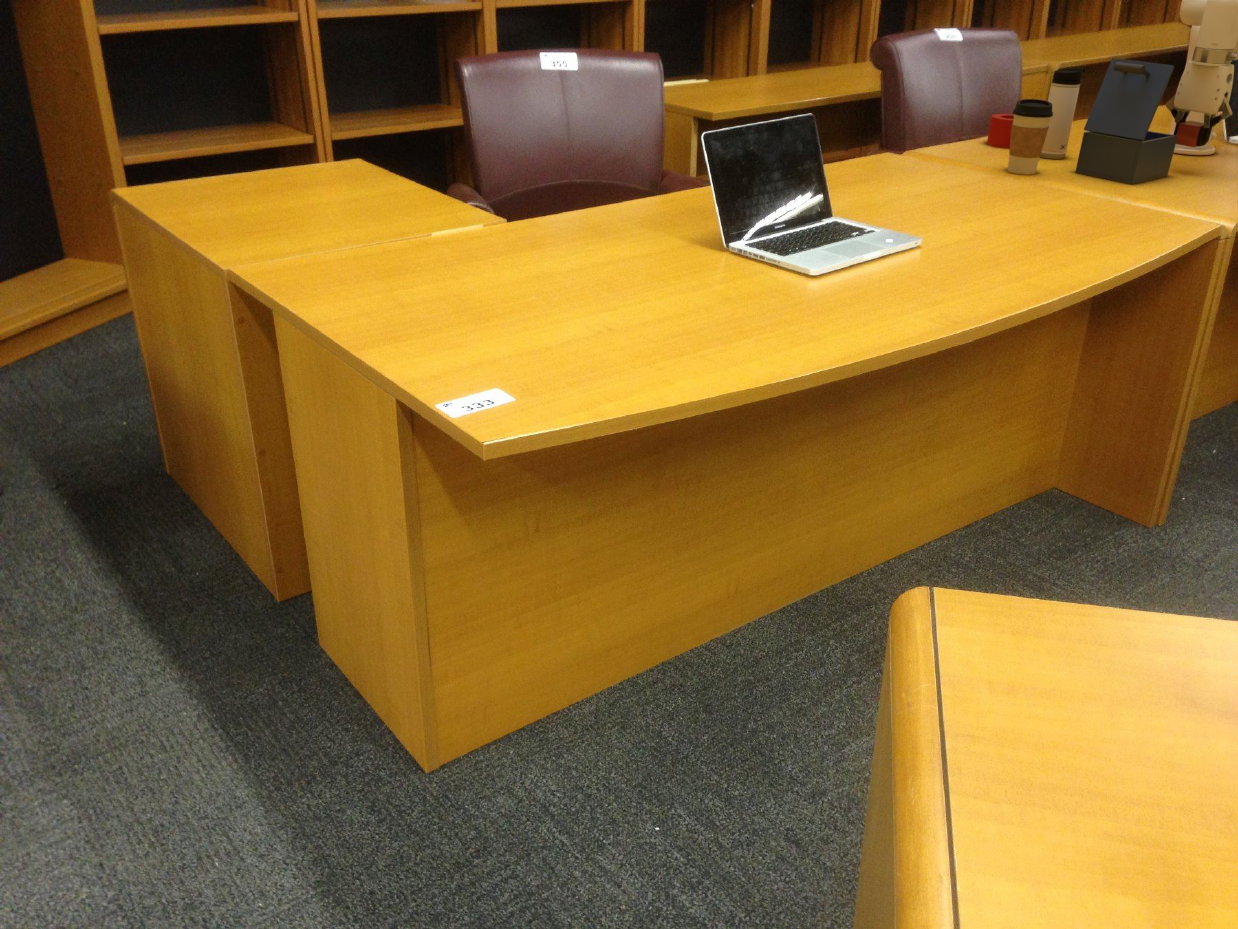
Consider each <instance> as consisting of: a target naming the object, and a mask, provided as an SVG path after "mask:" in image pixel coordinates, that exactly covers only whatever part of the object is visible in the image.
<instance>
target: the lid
mask: <svg viewBox="0 0 1238 929" xmlns="http://www.w3.org/2000/svg"><path fill="white" fill-rule="evenodd" d="M1174 69H1175V65H1173V64H1164V63H1156V62H1148V61H1140V60H1139V61H1138V60H1133V59H1132V60H1131V59H1122V58H1115V57H1114V58H1113V57H1112V58H1111V60H1110V62H1109V65H1108V68H1107V71H1106V72H1105V75H1104V78H1103V81H1102V83H1101V85H1100V87H1099V90H1098V93H1097V95H1096V98H1095V100H1094V102H1093V105H1092V107H1091V110H1090V113H1089V114H1088V115H1089V116H1088V117H1087V120H1086V123H1085V125H1084V128H1083V131H1084V132H1088V131H1091V132H1096V133H1102V134H1108V135H1114V136H1119V137H1125V138H1131V139H1137V140H1142V141H1144V139H1145V137H1146V134H1147V132H1148V131H1149V129H1150V127H1151V124H1152V122H1153V120H1154V117H1155V115H1156V112H1157V110H1158V108H1159V105H1160V103H1161V101H1162V98H1163V96H1164V93H1165V91H1166V88H1167V87H1168V84H1169V81H1170V79H1171V76H1172V74H1173V72H1174Z"/></svg>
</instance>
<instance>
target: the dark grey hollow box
mask: <svg viewBox="0 0 1238 929" xmlns="http://www.w3.org/2000/svg"><path fill="white" fill-rule="evenodd" d="M1177 137H1178V136H1176V135H1170V134H1169V133H1164V132H1158V131H1152V130H1148V132H1147V134H1146V137H1145V139H1144V141H1142V140H1137V139H1131V138H1125V137H1119V136H1114V135H1108V134H1102V133H1096V132H1091V131H1084V132H1083V135H1082V139H1081V144H1080V148H1079V153H1078V158H1077V162H1076V166H1075V173H1076V174H1080V175H1084V176H1089V177H1094V178H1099V179H1103V180H1109V181H1114V182H1119V183H1123V184H1127V185H1128V184H1129V185H1136V184H1140V183H1145V182H1148V181H1149V182H1150V181H1154V180H1157V179H1162V178H1166V177H1168V176H1169V171H1170V168H1171V164H1172V160H1173V157H1174V156H1173V155H1174V153H1173V152H1174V148H1175V145H1176V141H1177Z"/></svg>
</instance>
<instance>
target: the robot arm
mask: <svg viewBox="0 0 1238 929" xmlns="http://www.w3.org/2000/svg"><path fill="white" fill-rule="evenodd" d="M1179 18H1180V21H1181V23H1183V24H1184V25H1186V26H1191V28H1190V33H1189V38H1188V48H1187V56H1186V63H1185V66H1184V70H1183V73H1182V75H1181V77H1180V80H1179V83H1178V85H1177V89H1176V91H1175V94H1174V95H1173V96H1172V97H1171V98H1170V99H1169V100H1168V101H1167V102H1166V103H1165V107H1166V109H1167V110H1168V111H1169V112H1170V113H1171V115H1172V119H1171V123H1170V127H1169V131H1168V134H1170V135H1177V131H1178V127H1179V123H1182V122H1187V121H1195V122H1201V123H1204V126H1203V127H1202V128H1201V129H1200V133H1199V136H1198V140H1197V144H1196V145H1197V147H1189V146H1184V145H1178V144H1176V145H1175V148H1174V152H1173V154H1180V155H1189V156H1210V155H1213V154H1215V152H1216V148H1215V147H1214V146H1212V145H1210V144H1211V141H1214V140H1216V138H1217V136H1218V135H1217V133H1216V132H1215V131H1214V129H1215V126H1216V125H1218V124H1219V123H1221V122H1222V121H1224V120H1226V119H1228V118H1230V117H1232V116H1233V111H1232V108H1231V106H1230V99H1231V95H1232V91H1233V90H1232V89H1233V85H1234V75H1235V65H1234V64H1231V63H1232V62H1233V61H1238V0H1181V4H1180V8H1179ZM1219 113H1220V114H1219Z"/></svg>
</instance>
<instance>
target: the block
mask: <svg viewBox="0 0 1238 929" xmlns="http://www.w3.org/2000/svg"><path fill="white" fill-rule="evenodd" d="M1203 126H1204V123H1201V122H1195V121H1187V122H1182V123H1179V127H1178V131H1177V135H1176V136H1178V137H1177V141H1176V144H1178V145H1184V146H1189V147H1197V145H1196V144H1197V140H1198V136H1199V133H1200V129H1201V128H1202V127H1203Z"/></svg>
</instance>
